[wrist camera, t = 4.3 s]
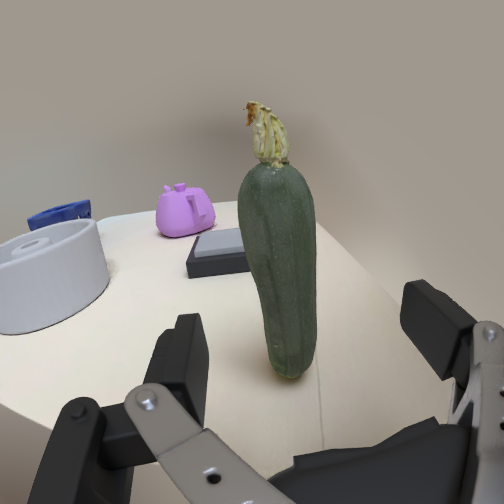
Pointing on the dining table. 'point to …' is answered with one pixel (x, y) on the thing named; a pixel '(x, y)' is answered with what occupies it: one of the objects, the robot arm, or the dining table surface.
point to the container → (50, 275)
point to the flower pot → (60, 214)
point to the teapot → (184, 211)
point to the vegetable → (280, 245)
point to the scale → (217, 254)
